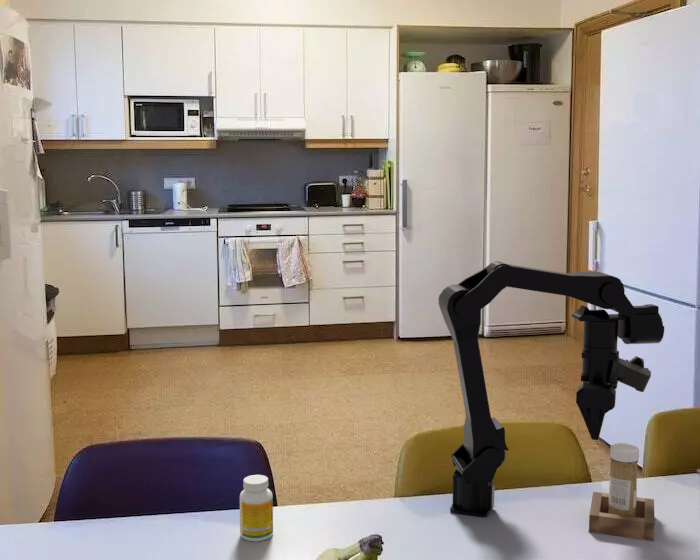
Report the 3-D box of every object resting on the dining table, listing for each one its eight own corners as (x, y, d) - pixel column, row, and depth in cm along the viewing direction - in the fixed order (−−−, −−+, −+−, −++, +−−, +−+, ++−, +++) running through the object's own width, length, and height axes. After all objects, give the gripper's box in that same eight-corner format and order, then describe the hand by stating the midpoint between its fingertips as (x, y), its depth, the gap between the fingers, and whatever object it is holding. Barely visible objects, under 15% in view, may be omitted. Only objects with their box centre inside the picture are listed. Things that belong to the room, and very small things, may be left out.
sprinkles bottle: (641, 525, 136) (645, 448, 134) (623, 532, 133) (627, 453, 132) (618, 515, 140) (622, 440, 138) (601, 522, 137) (604, 445, 135)
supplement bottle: (236, 531, 134) (234, 476, 133) (266, 525, 137) (265, 470, 135) (246, 545, 130) (245, 487, 128) (278, 538, 132) (277, 481, 130)
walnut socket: (588, 532, 134) (589, 514, 133) (592, 507, 143) (593, 491, 142) (653, 541, 130) (654, 523, 130) (653, 516, 140) (654, 499, 139)
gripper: (649, 360, 130) (644, 454, 132) (649, 337, 148) (645, 420, 150) (577, 355, 134) (574, 446, 136) (585, 333, 151) (582, 414, 154)
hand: (596, 431), depth 144 cm, fingers open, 9 cm apart
